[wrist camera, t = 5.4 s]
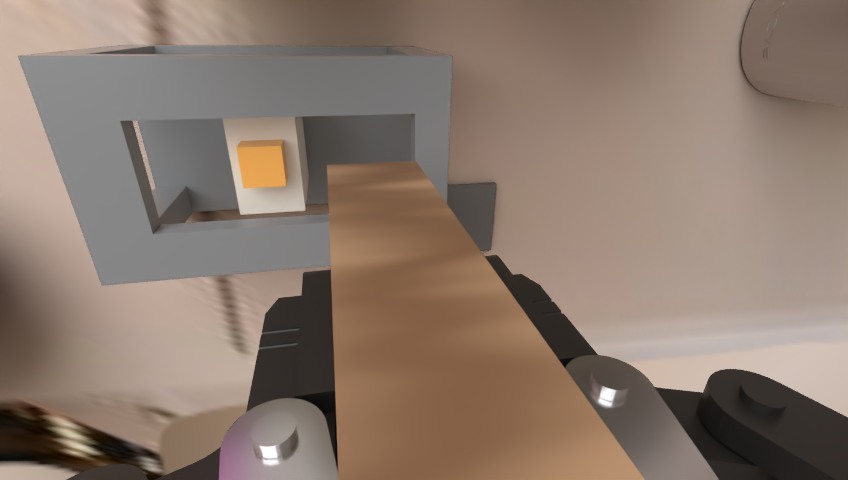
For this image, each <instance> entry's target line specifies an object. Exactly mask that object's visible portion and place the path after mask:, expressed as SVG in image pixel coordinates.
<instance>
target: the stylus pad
mask: <svg viewBox="0 0 848 480" xmlns="http://www.w3.org/2000/svg"><path fill="white" fill-rule="evenodd" d="M496 185H497V184H496V183H478V184H460V185H448V186H447V205H448V206H449V208H450V209H451V210H452V212H453V213H454V215H455V216H456V217H457V219H458V220H459V222H460V223H461V224H462V226H463V227H464V229H465V230H466V231H467V233H468V234H469V236H470V237H471V238H472V240H473V241H474V243H475V244H476V245H477V247H478V248H479V249H480V251H485V250H491V241H492V230H493V219H494V208H495V197H496Z"/></svg>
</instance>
